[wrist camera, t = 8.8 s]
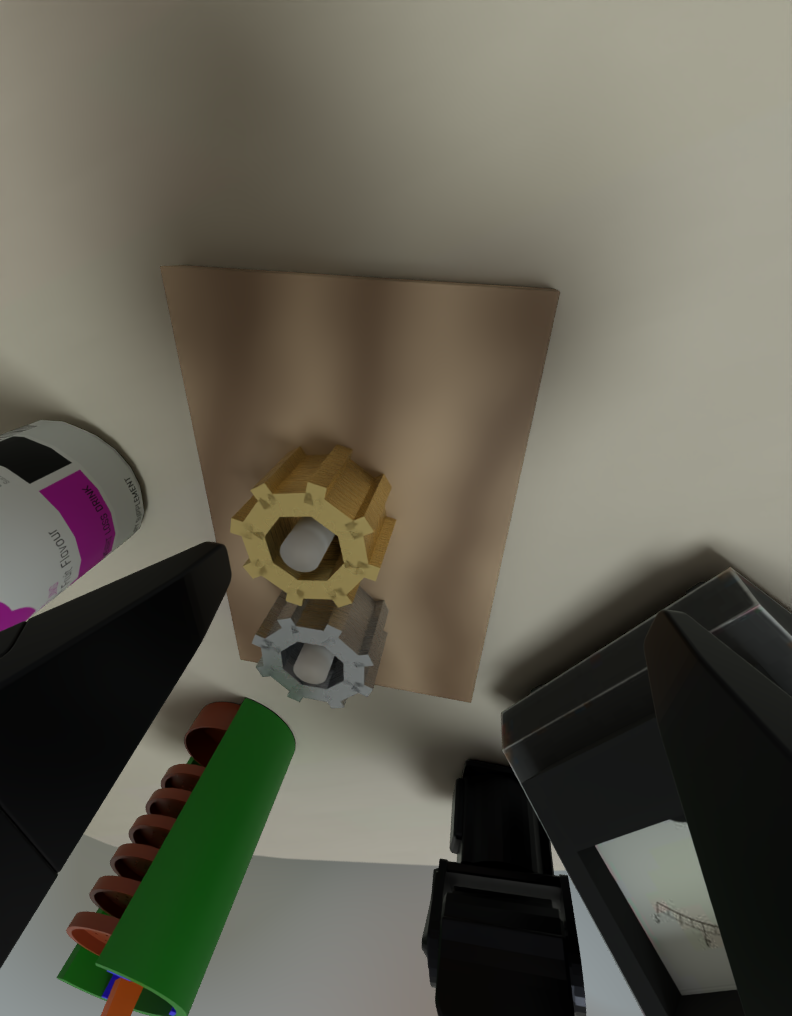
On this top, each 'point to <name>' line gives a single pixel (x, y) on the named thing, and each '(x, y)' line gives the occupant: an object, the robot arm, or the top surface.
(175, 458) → the top surface
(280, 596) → the steel gear
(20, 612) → the supplement can
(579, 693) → the voltmeter
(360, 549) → the brass gear
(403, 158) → the top surface
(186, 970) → the motor
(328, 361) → the board
